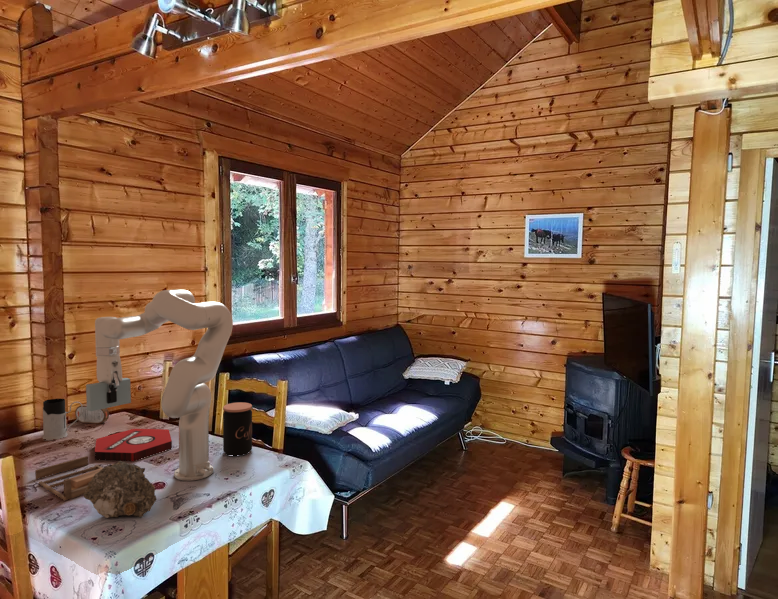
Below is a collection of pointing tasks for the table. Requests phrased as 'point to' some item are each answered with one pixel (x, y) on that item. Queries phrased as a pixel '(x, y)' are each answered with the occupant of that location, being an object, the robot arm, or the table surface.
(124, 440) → the red flat hexagonal block
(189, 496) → the table surface
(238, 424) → the coffee jar
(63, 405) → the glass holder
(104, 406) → the grey-green rectangular block
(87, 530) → the table surface
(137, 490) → the rock
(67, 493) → the rack
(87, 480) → the offcut top
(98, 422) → the tin
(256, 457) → the table surface
